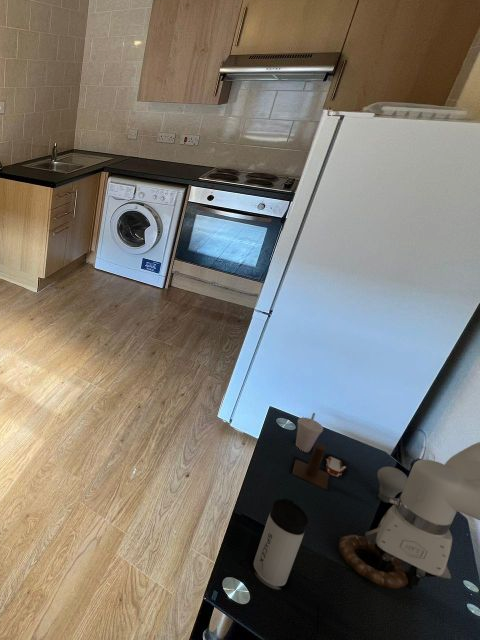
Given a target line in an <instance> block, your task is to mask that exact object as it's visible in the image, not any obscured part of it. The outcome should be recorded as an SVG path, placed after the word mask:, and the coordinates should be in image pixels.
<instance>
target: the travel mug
mask: <svg viewBox="0 0 480 640" xmlns="http://www.w3.org/2000/svg"><path fill="white" fill-rule="evenodd" d="M308 524H309V518H308V515H307V514H306V512H305V511H304V510H303V509H302V508H301V506H299V505H297V504H296V503H295V502H294V500H292V499H289V498H287V497H283V498H278V499H276V500H274V501H273V502H272V505H271V510H270V511H269V514H268V517H267V520H266V524H265V526H264V530H263V532H262V535H261V537H260V538H261V539H260V541H259V545H258V548H257V551H256V552H255V553H256V554H255V557H254V560H253V569H254V570H255V571H253V573H254V575H255V577H256V578H257V580H259V581H260V582H261V583H262V584H263V585H265V586H266V587H268V588H270V589H273V590H279V591H280V590H282V588H281V587H283V586H285V585H286V584H287V582H288V579H289V576H290V573H291V571H292V567H293V565H294V562H295V559H296V557H297V554H298V552H299V549H300V546H301V544H302V540H303V538H304V535H305V533H306V528H307V526H308Z"/></svg>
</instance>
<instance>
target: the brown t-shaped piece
mask: <svg viewBox="0 0 480 640" xmlns="http://www.w3.org/2000/svg"><path fill="white" fill-rule="evenodd" d="M326 450H327V448H326V447H325V446H324V445H322V444H320V443H314V446H313V450H312V453H311V455H310V458H309V461H308V463H306V462H304V461H302V460H299V459H295V461H294V463H293V469H292V472H291V473H292V474H291V475H292V476H294V477H296V478H298V479H300V480H302V481H304V482H307V483H309V484H311V485H313V486H316V487H318V488H320V489H322V490H324V491H328V486H329V479H330V474H329V473H328V472H327V471H326V472H325V471H324V470H322V469H320V466H321V463H322V460H323V458H324V455H325V452H326Z"/></svg>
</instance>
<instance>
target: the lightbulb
mask: <svg viewBox="0 0 480 640" xmlns="http://www.w3.org/2000/svg"><path fill="white" fill-rule="evenodd" d="M377 480H378V482H379V492H378V495H377V497H378V499H380V500H381V502H383V503H386V504H390V503H389V502H388V501H389V497H392V498H396V496H397V495H398V494H399V493H402V492H403V489H404V487H405V484H406V482H407V480H408V476H407V474H405V472H403V471H402V470H400V469H398V468H396V467H394V466H383V467H380V468H379V469H378V470H377Z"/></svg>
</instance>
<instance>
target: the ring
mask: <svg viewBox="0 0 480 640" xmlns="http://www.w3.org/2000/svg"><path fill="white" fill-rule="evenodd" d="M356 550H363V551H366V552H368V553H370V554H372V555H374V556H376V557H377V558H378V559H379V560H380V559H381V557H382V555H381V554H380V553H379V552H378V550H377V549H376V548H375V546H374V545H373V544H372V543H370V542H369V541H368V540H367V539H366V538H365V536H361V535H357V534H347V535H344V536H341V537H340V538H339V540H338V551H339V553H340V555H341V556H342V558H343V560H344V561H345V562H346V564H347V565H348V566H350V567H351V568H352V569H353V570H354V571H355V572H356V573H358V574H359V575H360V576H361V577H362V578H364V579H366V580H369V582H372V583H374V584H376V585H378V586H380V587H384V588H390V589H392V590H393V589H394V590H398V589H400V588H403V587H406V585H407V584H408V570H407V568H406V567H405V565H404V564H403V563H402V562H401V559H399V558H397V557H395V556H393V557H392V558H391V559H392V565H391V568H390V570H389V572H382V570H378V569H377V568H374V567H372V566H371V565H369V564H367V563H366V562H365V561H364V560H362V559H361V558H360V557H359V556H358V554H357V553H356Z"/></svg>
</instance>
